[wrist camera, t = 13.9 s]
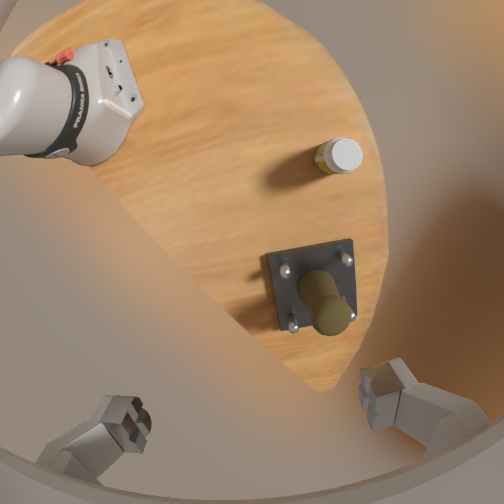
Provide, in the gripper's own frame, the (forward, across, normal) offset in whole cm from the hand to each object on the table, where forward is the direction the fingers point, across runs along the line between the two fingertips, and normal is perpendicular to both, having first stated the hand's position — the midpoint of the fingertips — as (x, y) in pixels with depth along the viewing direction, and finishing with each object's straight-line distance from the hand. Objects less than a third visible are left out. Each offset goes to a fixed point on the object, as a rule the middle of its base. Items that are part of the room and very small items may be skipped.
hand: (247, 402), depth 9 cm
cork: (+33, -8, +11) cm, 36 cm away
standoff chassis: (+34, -8, +11) cm, 37 cm away
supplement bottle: (+34, -13, -8) cm, 38 cm away
